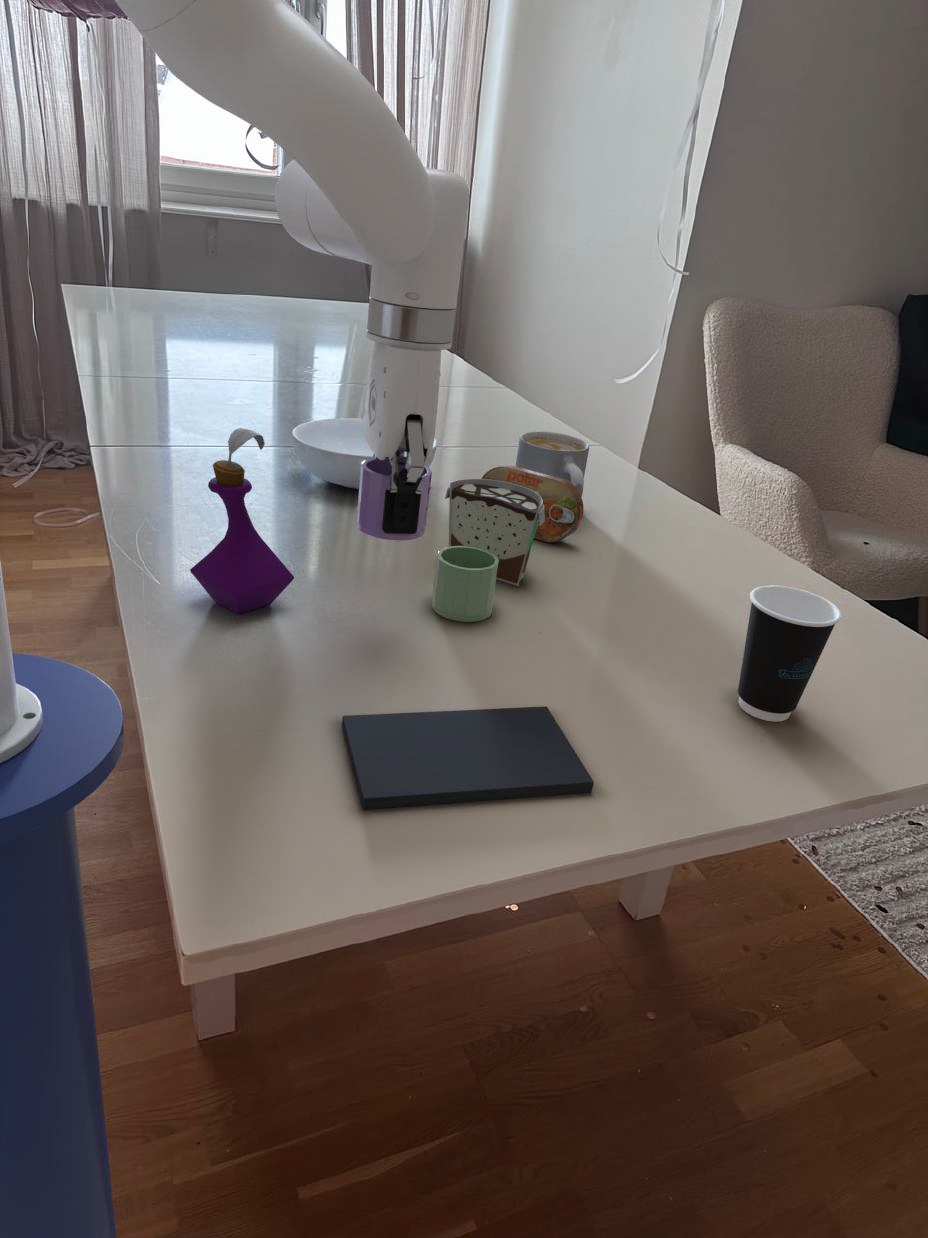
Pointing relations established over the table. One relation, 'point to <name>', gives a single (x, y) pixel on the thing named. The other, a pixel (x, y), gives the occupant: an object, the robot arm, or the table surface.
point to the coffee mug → (554, 456)
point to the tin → (547, 500)
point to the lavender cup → (373, 497)
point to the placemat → (461, 756)
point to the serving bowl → (335, 449)
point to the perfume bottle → (240, 544)
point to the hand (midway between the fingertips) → (391, 517)
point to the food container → (495, 522)
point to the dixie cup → (782, 648)
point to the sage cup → (464, 583)
